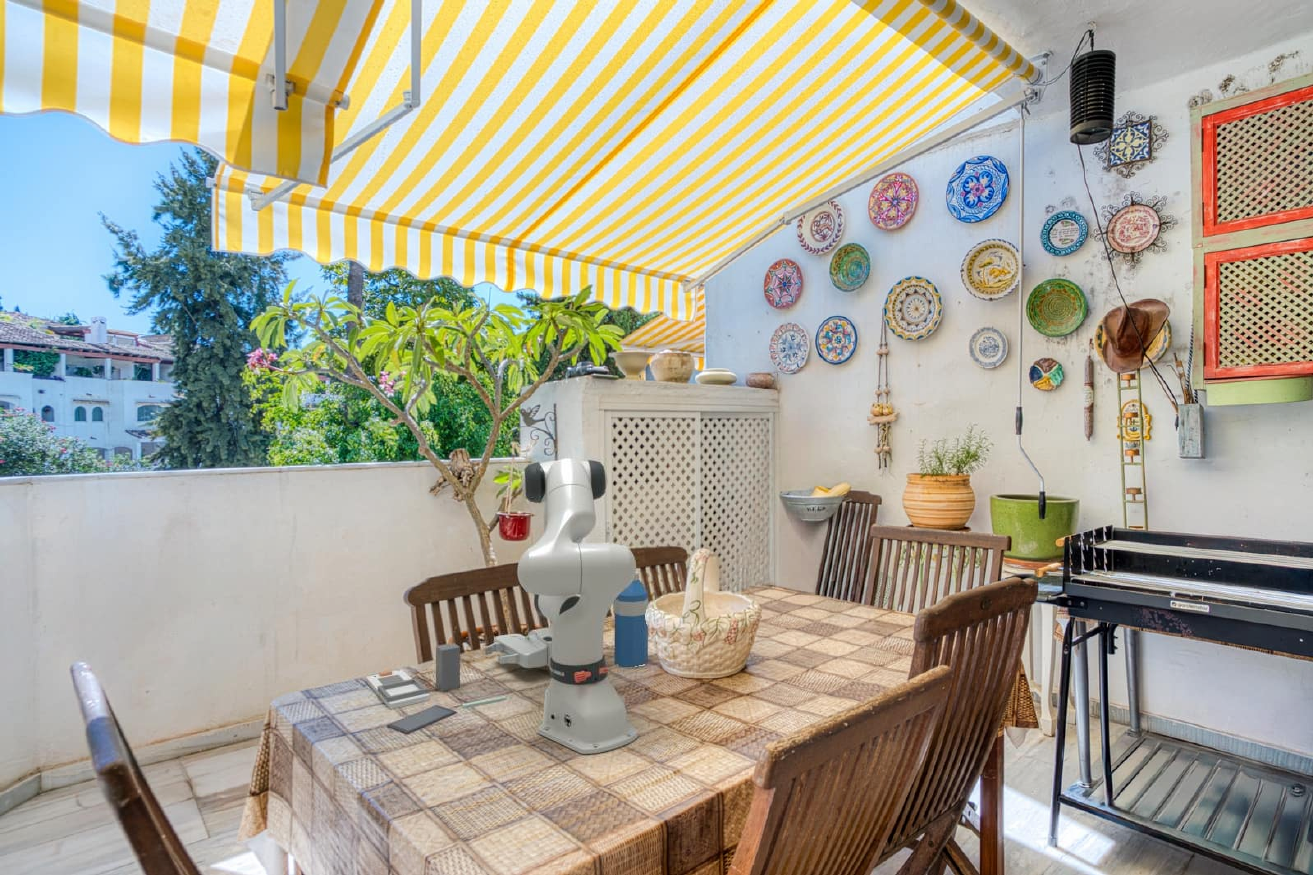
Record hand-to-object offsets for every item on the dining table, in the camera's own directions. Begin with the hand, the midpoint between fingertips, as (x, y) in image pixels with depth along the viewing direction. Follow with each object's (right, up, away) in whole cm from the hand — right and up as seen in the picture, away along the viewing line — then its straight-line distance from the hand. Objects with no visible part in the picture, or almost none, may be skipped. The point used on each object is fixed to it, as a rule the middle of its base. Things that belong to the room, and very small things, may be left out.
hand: (491, 655), depth 171 cm
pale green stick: (+3, -6, -18) cm, 19 cm away
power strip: (-21, -5, -10) cm, 24 cm away
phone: (-8, -6, -27) cm, 29 cm away
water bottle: (+36, -6, +11) cm, 38 cm away
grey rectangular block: (-9, -6, -7) cm, 13 cm away
